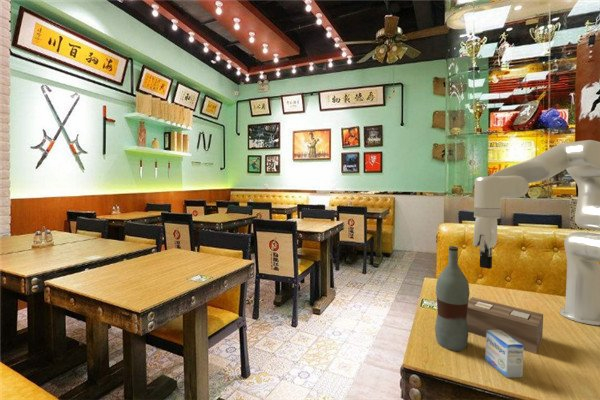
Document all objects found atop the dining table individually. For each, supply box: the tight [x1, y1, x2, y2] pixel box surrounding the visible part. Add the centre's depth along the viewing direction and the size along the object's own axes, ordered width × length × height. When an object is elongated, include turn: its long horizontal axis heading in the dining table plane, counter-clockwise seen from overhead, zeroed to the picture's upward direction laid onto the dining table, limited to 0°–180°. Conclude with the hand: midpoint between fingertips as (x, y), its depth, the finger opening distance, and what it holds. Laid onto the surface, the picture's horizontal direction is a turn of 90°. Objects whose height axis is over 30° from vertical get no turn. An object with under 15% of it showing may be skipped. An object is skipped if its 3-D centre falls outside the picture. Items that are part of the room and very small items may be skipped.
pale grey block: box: [510, 310, 530, 320], centre depth 92 cm, size 4×4×8 cm
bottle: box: [434, 245, 470, 352], centre depth 89 cm, size 9×9×30 cm
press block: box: [467, 296, 544, 354], centre depth 96 cm, size 12×20×8 cm, turn 44°
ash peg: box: [474, 302, 493, 310], centre depth 99 cm, size 4×4×8 cm
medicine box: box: [484, 330, 525, 379], centre depth 78 cm, size 8×4×9 cm, turn 4°
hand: (485, 267), depth 99 cm, fingers closed
